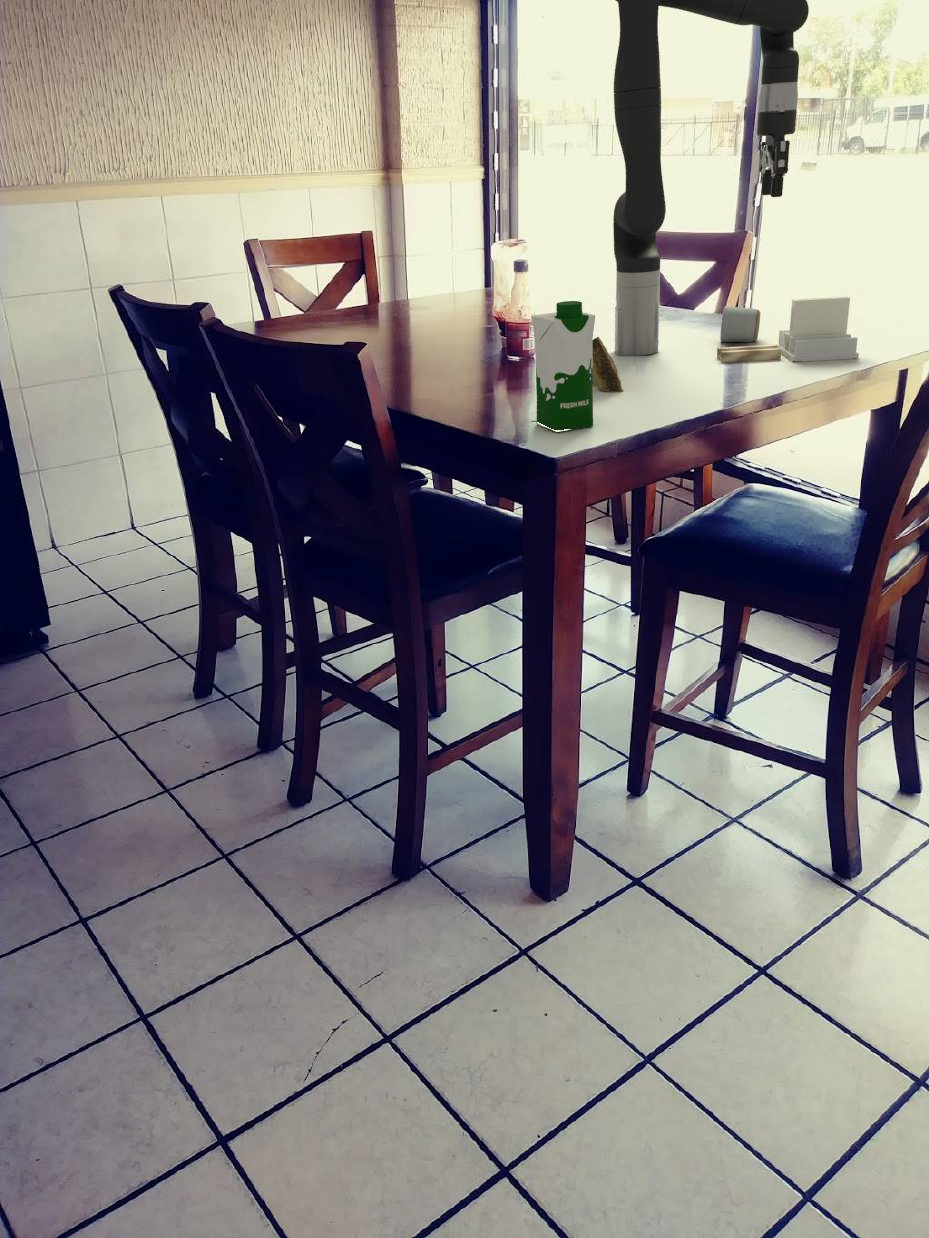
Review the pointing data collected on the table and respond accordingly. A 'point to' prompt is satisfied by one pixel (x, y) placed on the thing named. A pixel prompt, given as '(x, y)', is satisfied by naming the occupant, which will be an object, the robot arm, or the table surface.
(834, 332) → the plate
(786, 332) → the rack
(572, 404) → the milk carton
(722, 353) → the stand
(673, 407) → the table surface
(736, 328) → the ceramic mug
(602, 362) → the rock
